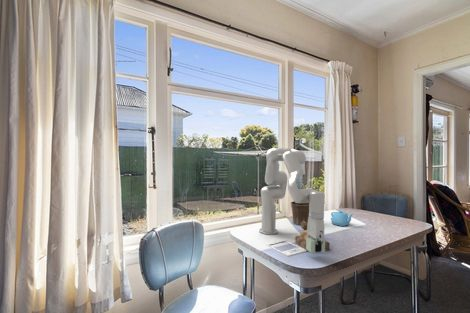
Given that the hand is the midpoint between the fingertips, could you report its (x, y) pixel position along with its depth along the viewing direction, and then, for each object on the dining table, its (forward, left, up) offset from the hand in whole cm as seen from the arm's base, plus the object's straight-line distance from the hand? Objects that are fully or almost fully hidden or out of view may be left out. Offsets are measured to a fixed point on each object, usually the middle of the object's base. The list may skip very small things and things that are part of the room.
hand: (315, 249), depth 130 cm
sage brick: (0, 0, -1) cm, 1 cm away
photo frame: (-14, -10, -5) cm, 18 cm away
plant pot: (-60, +22, -4) cm, 64 cm away
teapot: (-52, +52, -4) cm, 73 cm away
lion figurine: (-32, +15, -4) cm, 35 cm away
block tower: (-15, +6, -4) cm, 16 cm away
